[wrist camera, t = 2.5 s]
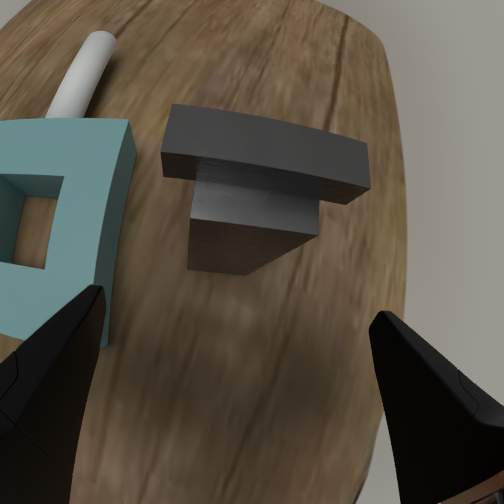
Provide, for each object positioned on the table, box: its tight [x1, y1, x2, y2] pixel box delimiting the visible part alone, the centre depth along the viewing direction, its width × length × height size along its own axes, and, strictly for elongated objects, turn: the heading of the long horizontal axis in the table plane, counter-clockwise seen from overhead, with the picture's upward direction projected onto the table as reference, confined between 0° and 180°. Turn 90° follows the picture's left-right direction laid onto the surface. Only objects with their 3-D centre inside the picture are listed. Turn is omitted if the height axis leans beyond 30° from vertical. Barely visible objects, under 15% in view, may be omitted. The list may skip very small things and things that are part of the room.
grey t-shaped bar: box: [161, 104, 371, 276], centre depth 15 cm, size 4×6×14 cm, turn 86°
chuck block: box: [0, 31, 137, 349], centre depth 17 cm, size 24×12×4 cm, turn 176°
